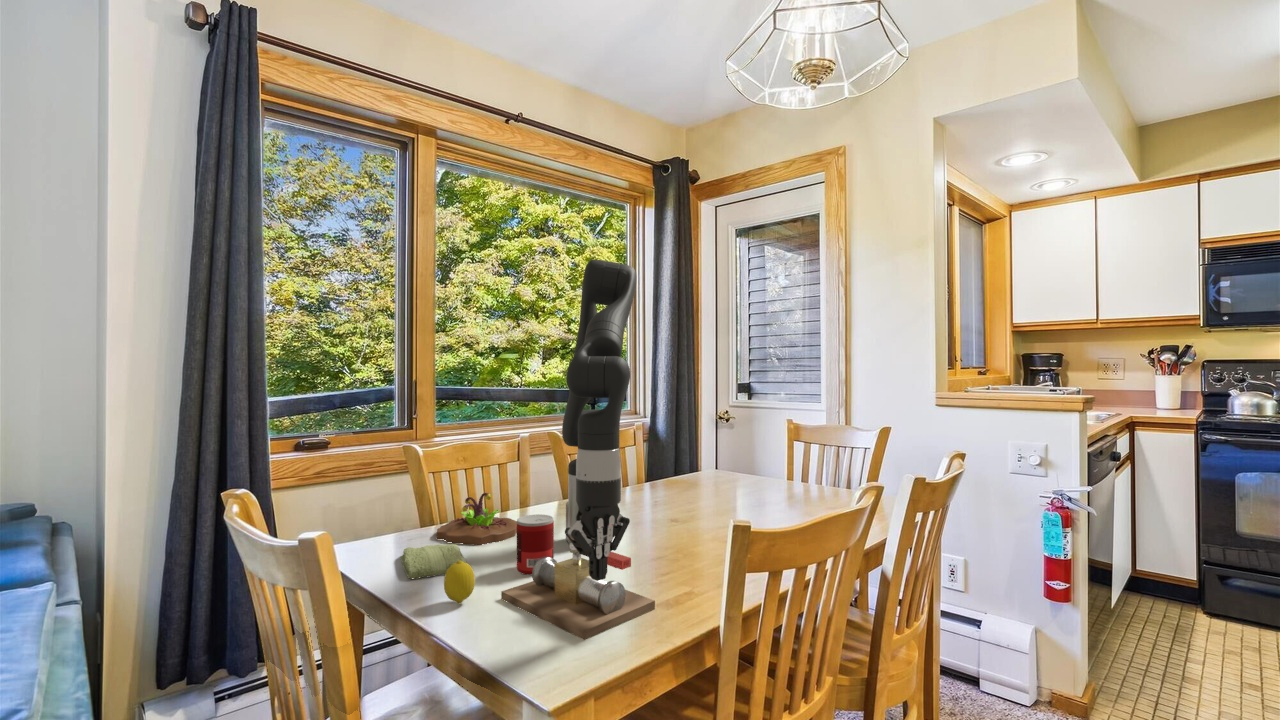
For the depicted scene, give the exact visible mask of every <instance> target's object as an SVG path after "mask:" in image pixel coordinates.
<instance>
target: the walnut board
mask: <svg viewBox="0 0 1280 720" xmlns="http://www.w3.org/2000/svg"><path fill="white" fill-rule="evenodd" d="M500 592H501V595H500V596H501V597H500V599H501V600H502V599H503V600H502V601H504V600H505V601H504V602H506V601H507V602H506V603H508V604H510V605H513V606H514V607H515V608H516V607H517V608H518V607H519V608H518V609H520V608H521V610H522V609H523V610H522V611H524V610H525V611H524V612H526V611H527V612H526V613H528V612H529V614H530V613H531V615H532V614H533V615H532V616H534V615H535V617H536V616H537V618H539V619H541V620H543V621H545V622H547V623H548V624H550V625H552V626H555V627H556V628H559V629H561V630H563V631H566V632H567V633H569V634H571V635H573V636H575V637H577V638H580V639H581V640H584V641H586V640H589V639H590V638H592V637H596V636H597V635H599V634H601V633H604V632H606V631H608V630H610V629H613V628H615V627H618V626H619V625H622V624H624V623H627V622H629V621H631V620H633V619H635V618H638V617H640V616H642V615H645V614H647V613H649V612H651V611H653V610H655V609H656V601H655V599H652V598H649V597H646V596H643V595H641V594H638V593H636V592H632V591H630V590H628V589H625V592H626V597H625V602H624V605H623V607H622V608H621V609H619V610H617V611H615V612H612V613H610V614H604V613H602V612H601V611H600V609H599V607H597V606H595V605H592V604H590V603H588V602H585V601H584V602H582V603H579V604H577V605H575V604H573V603H570V602H568V601H566V600H563V599H561V598H559V597H556V596H555V589H554V588H552V587H550V586H547V585H542V586H539V585H537V584H535V583H534V581H533V580H532V581H529V582H526V583H522V584H521V585H517V586H514V587H511V588H508V589H504V590H501V591H500Z"/></svg>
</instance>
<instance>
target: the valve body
mask: <svg viewBox="0 0 1280 720" xmlns="http://www.w3.org/2000/svg"><path fill="white" fill-rule="evenodd" d="M531 578H532V581H534V583H535V584H537V585H539V586H542V585H547V586H550V587H552V588H554V589H555V596H556V597H559V598H561V599H563V600H566V601H568V602H570V603H573V604H575V605H577V604H579V603H582V602H584V601H585V602H588V603H590V604H592V605H595V606H597V607H599V609H600V611H601V612H602V613H604V614H610V613H612V612H615V611H617V610H619V609H621V608H622V607H623V605H624V602H625V597H626V592H625V590H626V588H625V587H624V586H625V585H624V584H622V583H621V582H620V581H616V580H610V581H606V580H604V579H603V580H600V581H596V580H593V579H592V578H591V576H590V575H589V559H586V558H583V557H582V554H580V553H572V558H569V559H565V560H562V561H559V562H557V560H556V559H555V558H554V557H553V558H550V557H547V556H546V557H542V558H540V559H539V560H538V561H537V562H536V563H535V565H534V567H533V571H532V575H531Z"/></svg>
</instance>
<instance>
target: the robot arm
mask: <svg viewBox="0 0 1280 720" xmlns="http://www.w3.org/2000/svg"><path fill="white" fill-rule="evenodd" d="M636 286H637V272H636V270H635V268H634V267H633V266H631V265H629V264H624V263H619V262H614V261H609V260H602V259H590V260H589V261H588V262H587V264H586V266H585V269H584V273H583V279H582V288H581V299H580V313H579V315H580V316H579V325H578V331H577V337H576V341H575V347H574V352H573V357H572V359H571V361H570V362H569V365H568V367H567V371H566V379H565V380H566V386H567V389H568V390H569V394H568V398H567V403H566V406H565V411H564V415H563V419H562V429H561V432H562V433H561V434H562V440H563V442H564V444H565V445H566V446H568V447H573V448H574V447H577V452H576V458H575V459H573V460H571V461H570V462H569V463H568V467H567V470H568V471H567V473H568V474H567V476H568V477H567V478H568V479H567V481H568V482H567V483H568V484H567V485H568V489H567V490H568V492H567V493H568V494H567V495H568V498H567V499H568V500H567V502H566V503H565V529H564V534H565V541H567V542H568V544H570V543H572V544H573V545H574V547H575V548H576V549H577V551H578V552H579V553H580V554H581V556H585V557H588V560H589V575H590V576H591V578H592V579H593V580H596V581H600V580H603V581H604V580H605V579H606V578H607V575H608V565H607V556H608V555H609V553H610V552H614V551H616V550H617V549H618V547H619V545H620V543H621V541H622V540H623V537H624V535H625V533H626V531H627V529H628V527H629V525H630V522H631V520H630V518H628V517H626V516H623V514H621V510H620V507H619V504H620V503H621V500H622V460H621V452H620V424H621V415H622V410H623V405H624V400H625V398H626V396H627V391H628V389H629V384H630V381H631V370H630V369H631V368H630V366H629V364H628V362H627V360H625V359H624V358H623V357H622V353H623V347H624V346H623V345H624V337H625V336H624V335H625V329H626V325H627V322H628V319H629V316H630V313H631V309H632V305H633V302H634V298H635V294H636V289H637V287H636ZM597 305H602V306H605V307H604V308H603V309H601V310H600V311H598V309H597ZM600 398H601V399H608V401H607V404H606V406H605V407H603V408H601V409H585V406H586V405H587V404H588V403H589V402H590V401H591V400H592V399H600Z"/></svg>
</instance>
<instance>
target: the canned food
mask: <svg viewBox="0 0 1280 720" xmlns="http://www.w3.org/2000/svg"><path fill="white" fill-rule="evenodd" d="M516 521H517V533H516V569H517V572H519V573H520V574H522V573H523V575H527V574H532V571H533V567H534V565H535V563H536V562H537V561H538V560H539V559H540V558H542V557H546V556H547V557H550V558H553V559H554V553H555V552H554V550H555V549H554V542H555V541H554V540H555V538H554V537H555V536H554V535H555V531H554V530H555V528H554V527H555V523H554V522H555V521H554V517H553V516H552V515H549V514H527V515H523V516H520V517H518V518H517V519H516Z"/></svg>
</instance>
